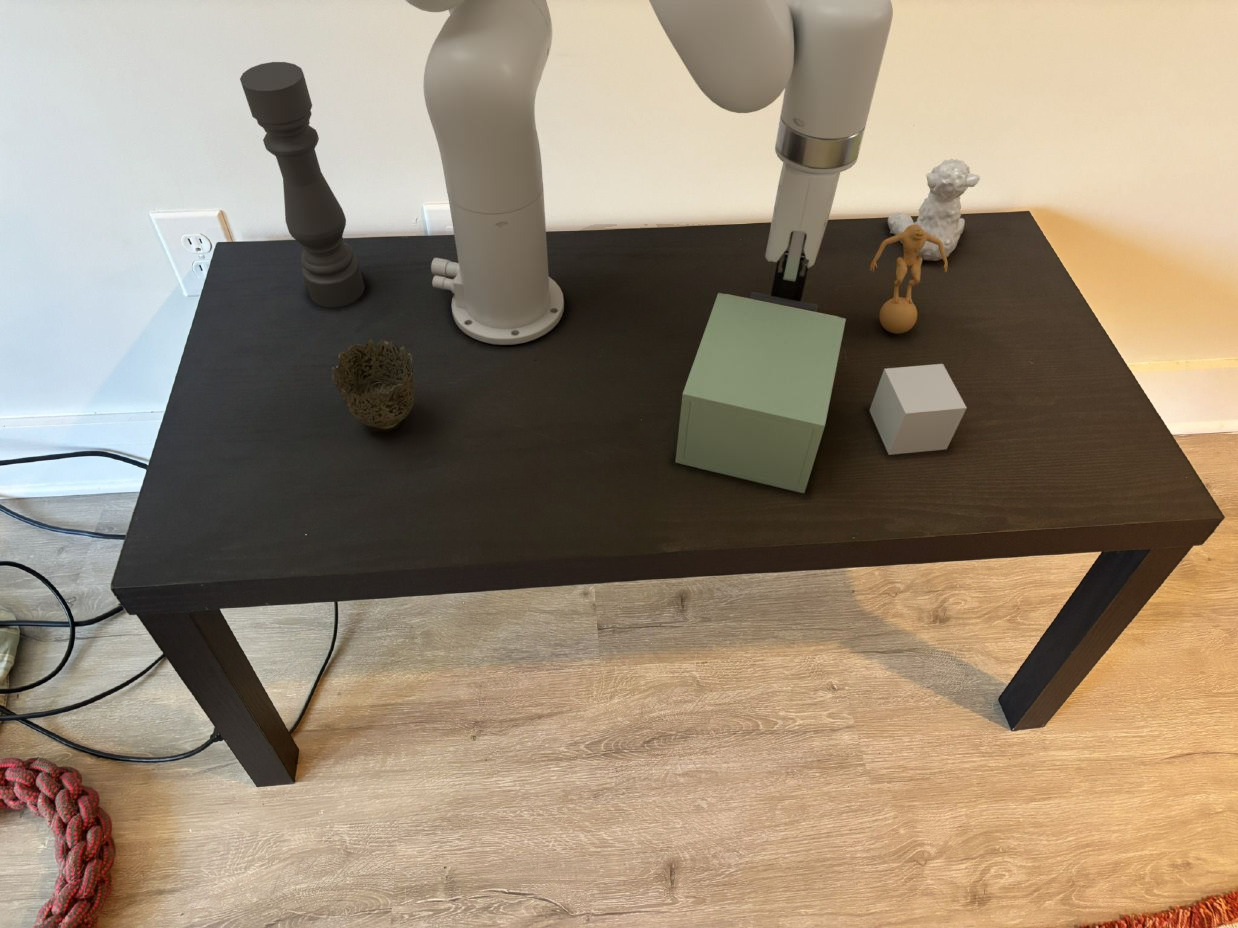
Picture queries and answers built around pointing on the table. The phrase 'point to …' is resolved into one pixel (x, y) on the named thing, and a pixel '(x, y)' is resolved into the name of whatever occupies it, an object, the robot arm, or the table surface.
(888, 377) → the white cube
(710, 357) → the cabinet
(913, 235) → the figurine
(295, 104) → the candle holder
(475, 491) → the table surface
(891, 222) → the white creature statuette
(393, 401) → the cup
